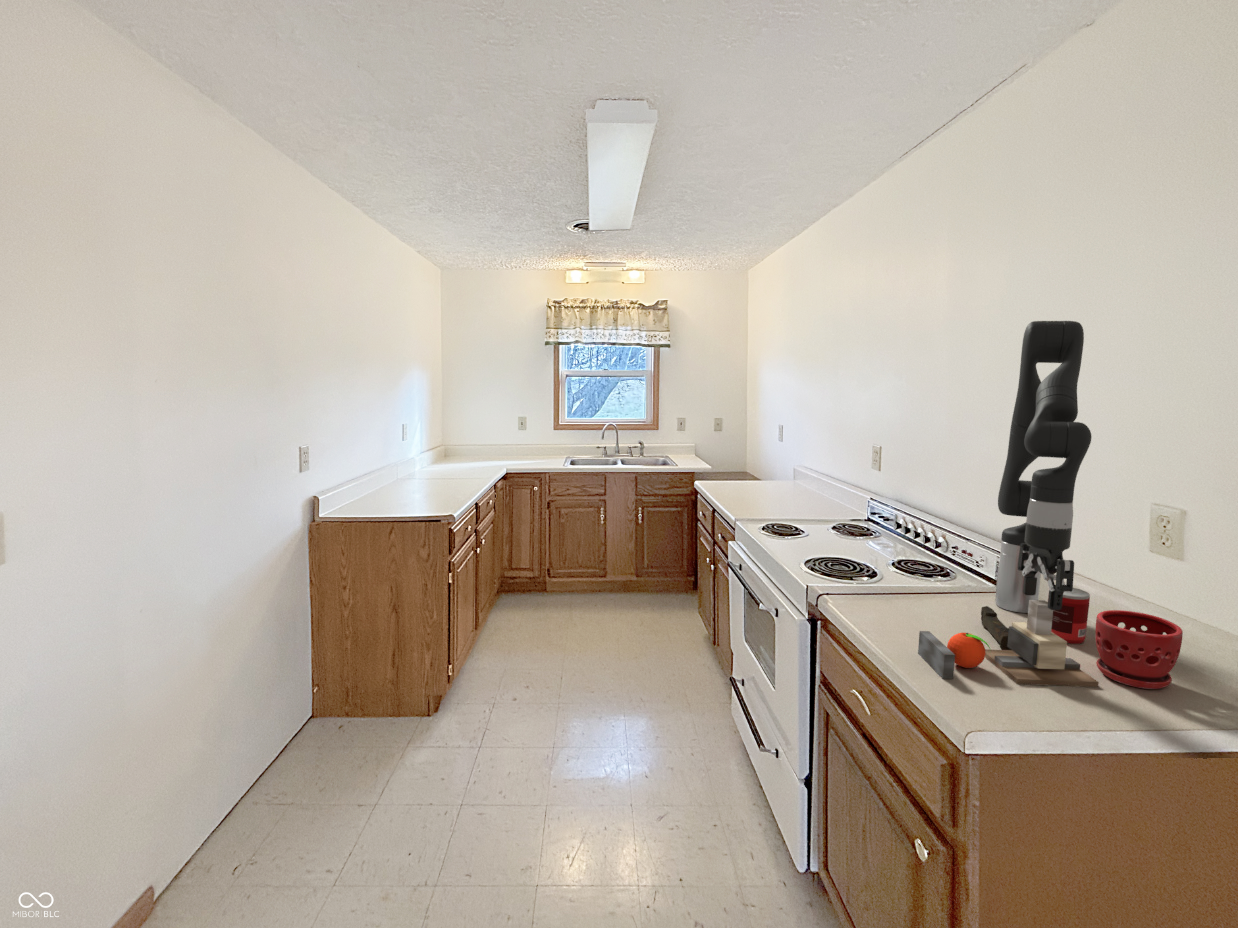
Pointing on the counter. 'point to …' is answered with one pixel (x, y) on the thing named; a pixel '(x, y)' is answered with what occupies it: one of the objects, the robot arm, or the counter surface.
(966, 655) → the clementine
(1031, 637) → the jaw
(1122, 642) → the plant pot
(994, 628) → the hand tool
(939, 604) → the counter surface
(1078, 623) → the canned food
